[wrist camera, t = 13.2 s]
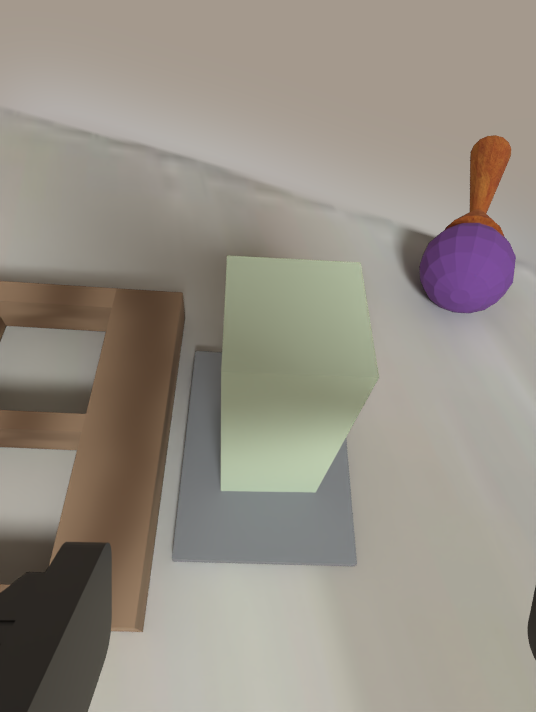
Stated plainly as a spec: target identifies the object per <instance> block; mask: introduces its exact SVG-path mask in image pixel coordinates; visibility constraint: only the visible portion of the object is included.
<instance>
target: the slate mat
mask: <svg viewBox="0 0 536 712" xmlns="http://www.w3.org/2000/svg"><path fill="white" fill-rule="evenodd" d="M221 365H222V352H206V351H196V352H195V360H194V369H193V378H192V387H191V396H190V405H189V413H188V422H187V431H186V440H185V449H184V457H183V466H182V475H181V484H180V493H179V501H178V510H177V519H176V528H175V537H174V545H173V554H172V560H173V561H178V562H215V563H252V564H289V565H325V566H355V565H356V564H357V560H356V548H355V537H354V525H353V513H352V501H351V489H350V478H349V466H348V454H347V442H346V438H345V440H344V442H343V444H342V446H341V447H340V449H339V451H338V453H337V455H336V456H335V458H334V460H333V462H332V464H331V465H330V467H329V469H328V471H327V473H326V475H325V476H324V478H323V480H322V482H321V484H320V485H319V487H318V489H317V491H316V492H251V491H221Z"/></svg>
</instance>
